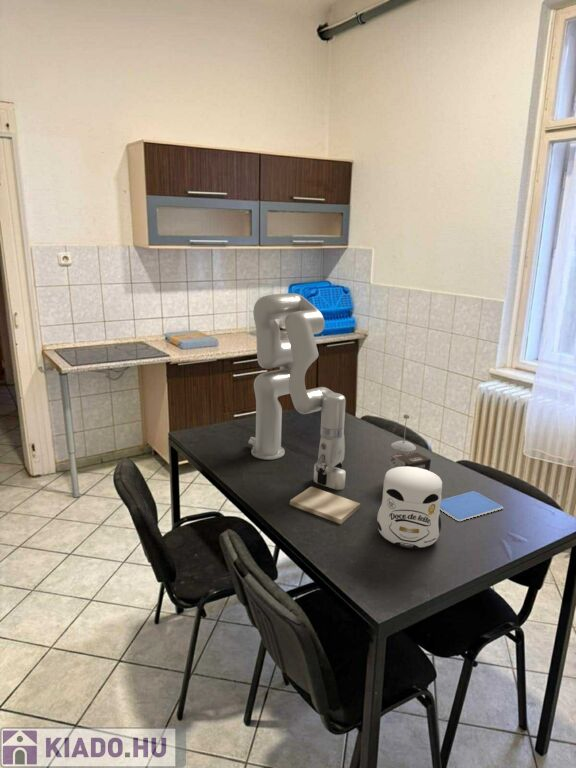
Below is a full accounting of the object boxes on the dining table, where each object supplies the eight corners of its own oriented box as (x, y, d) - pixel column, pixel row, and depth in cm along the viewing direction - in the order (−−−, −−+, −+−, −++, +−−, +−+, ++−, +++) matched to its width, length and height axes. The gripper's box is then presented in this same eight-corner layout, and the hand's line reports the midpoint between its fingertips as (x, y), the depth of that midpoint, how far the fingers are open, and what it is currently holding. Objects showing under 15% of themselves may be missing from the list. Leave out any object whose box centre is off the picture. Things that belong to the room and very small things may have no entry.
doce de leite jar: (399, 560, 140) (405, 498, 135) (364, 526, 155) (369, 469, 150) (452, 546, 146) (460, 487, 141) (413, 516, 162) (420, 461, 157)
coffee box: (402, 513, 163) (408, 464, 159) (389, 503, 169) (394, 456, 164) (426, 507, 167) (431, 459, 163) (412, 497, 173) (417, 451, 168)
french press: (379, 483, 182) (385, 413, 175) (397, 473, 190) (404, 406, 183) (404, 493, 175) (412, 421, 168) (422, 482, 183) (430, 413, 176)
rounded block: (311, 481, 182) (311, 466, 180) (317, 476, 185) (318, 462, 184) (340, 491, 175) (341, 475, 174) (346, 486, 179) (348, 471, 177)
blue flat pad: (458, 524, 159) (459, 520, 158) (429, 505, 169) (429, 501, 169) (504, 510, 168) (504, 507, 167) (473, 493, 178) (474, 489, 178)
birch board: (289, 504, 166) (290, 500, 165) (310, 490, 175) (311, 486, 175) (340, 524, 156) (340, 519, 155) (360, 507, 165) (360, 503, 165)
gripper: (328, 441, 166) (325, 491, 171) (355, 426, 180) (351, 473, 184) (308, 435, 170) (305, 484, 175) (335, 421, 184) (332, 467, 189)
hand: (329, 478), depth 180 cm, fingers open, 9 cm apart
